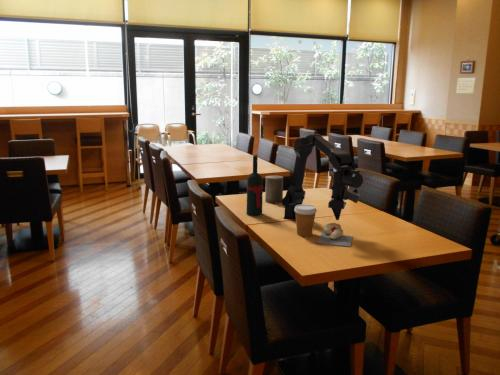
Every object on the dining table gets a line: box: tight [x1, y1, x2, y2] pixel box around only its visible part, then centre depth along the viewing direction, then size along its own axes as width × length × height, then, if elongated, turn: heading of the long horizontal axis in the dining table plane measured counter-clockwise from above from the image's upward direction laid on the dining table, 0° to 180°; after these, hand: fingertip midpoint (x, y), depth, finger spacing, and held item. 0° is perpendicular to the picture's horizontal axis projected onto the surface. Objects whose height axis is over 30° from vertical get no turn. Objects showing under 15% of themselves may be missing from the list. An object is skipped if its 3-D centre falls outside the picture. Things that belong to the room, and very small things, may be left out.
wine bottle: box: [246, 152, 264, 217], centre depth 214 cm, size 8×10×30 cm
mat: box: [316, 232, 353, 248], centre depth 181 cm, size 13×13×1 cm
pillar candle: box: [264, 174, 284, 204], centre depth 242 cm, size 10×10×15 cm
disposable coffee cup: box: [294, 203, 318, 237], centre depth 187 cm, size 10×10×12 cm
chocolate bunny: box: [322, 222, 344, 239], centre depth 183 cm, size 6×8×10 cm
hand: (337, 219), depth 184 cm, fingers closed
